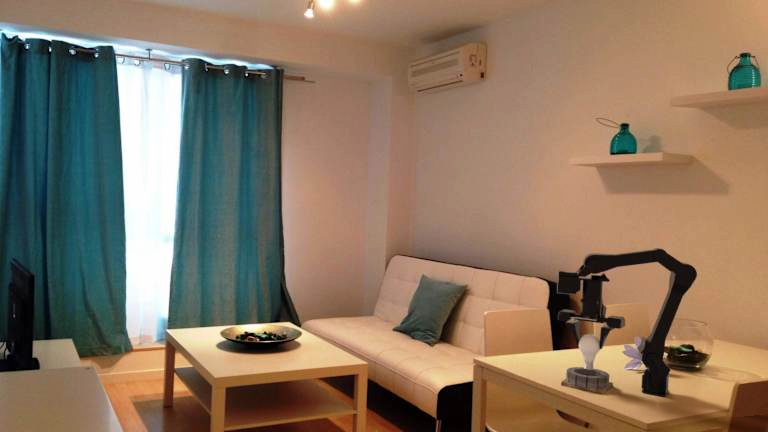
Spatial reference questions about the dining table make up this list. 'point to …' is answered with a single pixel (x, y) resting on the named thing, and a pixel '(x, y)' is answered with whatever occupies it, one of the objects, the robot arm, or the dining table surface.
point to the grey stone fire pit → (587, 379)
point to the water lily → (633, 355)
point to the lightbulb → (589, 349)
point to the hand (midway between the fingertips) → (589, 347)
